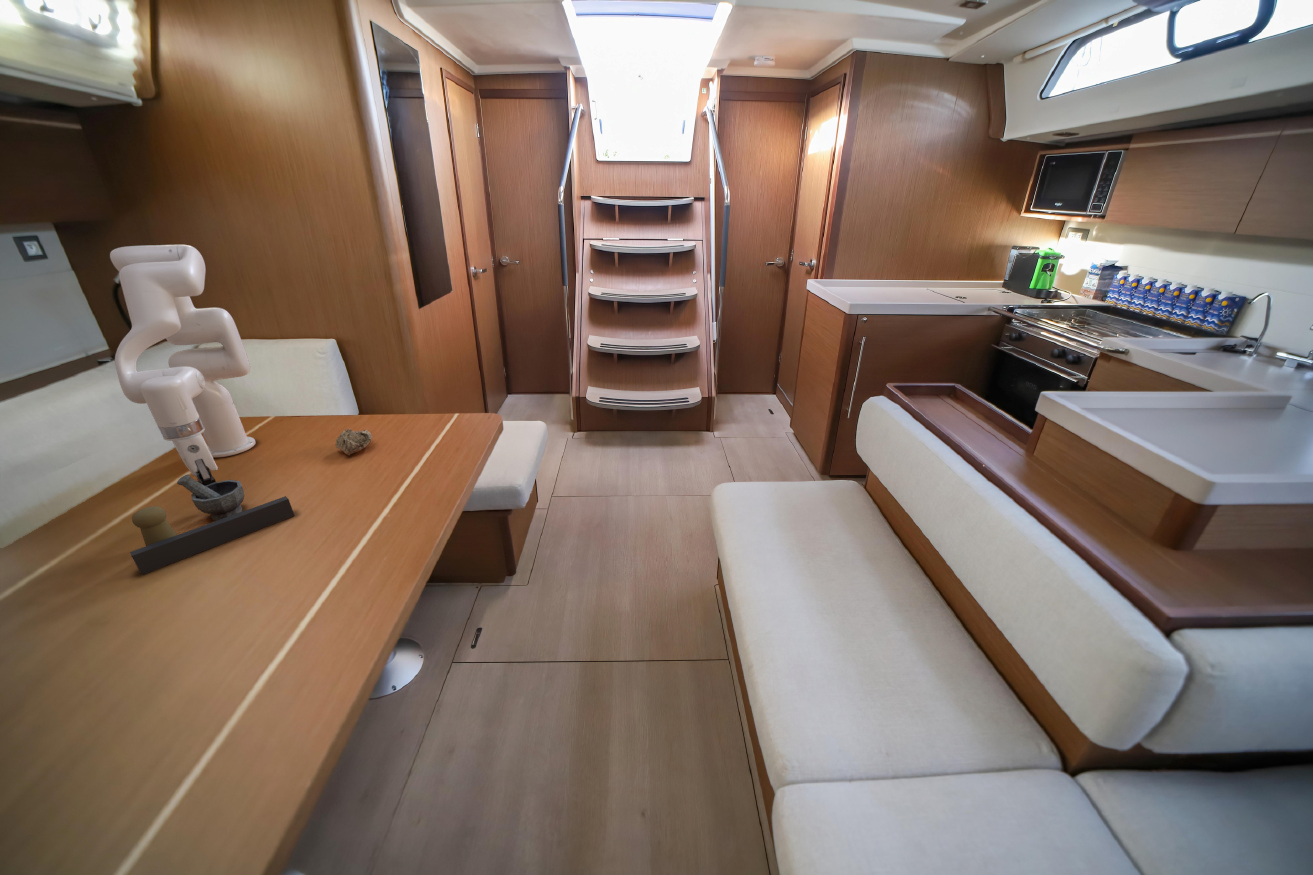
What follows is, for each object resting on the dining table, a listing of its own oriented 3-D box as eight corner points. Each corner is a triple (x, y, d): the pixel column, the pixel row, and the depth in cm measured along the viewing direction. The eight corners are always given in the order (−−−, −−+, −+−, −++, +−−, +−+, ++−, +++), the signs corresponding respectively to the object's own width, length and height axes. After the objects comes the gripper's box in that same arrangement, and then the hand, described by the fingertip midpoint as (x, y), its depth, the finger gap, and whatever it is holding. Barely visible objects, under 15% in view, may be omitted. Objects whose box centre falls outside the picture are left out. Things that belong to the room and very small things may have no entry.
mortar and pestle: (255, 499, 130) (239, 459, 125) (246, 518, 122) (228, 476, 117) (201, 509, 126) (182, 468, 120) (188, 530, 118) (167, 487, 113)
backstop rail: (140, 570, 105) (129, 552, 103) (292, 512, 125) (285, 495, 123) (142, 575, 104) (131, 556, 102) (294, 515, 124) (288, 498, 121)
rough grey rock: (345, 466, 152) (374, 450, 152) (327, 450, 148) (358, 434, 148) (351, 447, 161) (379, 432, 161) (334, 431, 157) (363, 416, 157)
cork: (191, 546, 113) (171, 505, 108) (160, 562, 108) (137, 520, 103) (174, 540, 115) (153, 500, 110) (142, 556, 109) (119, 515, 105)
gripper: (210, 432, 117) (238, 498, 125) (194, 414, 125) (222, 477, 133) (167, 443, 112) (200, 511, 120) (155, 424, 120) (186, 488, 128)
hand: (211, 493), depth 127 cm, fingers closed
